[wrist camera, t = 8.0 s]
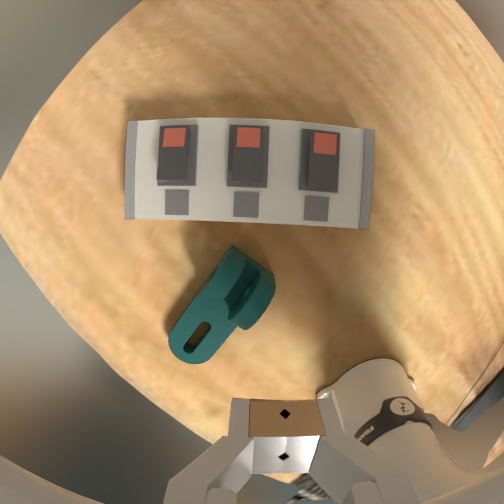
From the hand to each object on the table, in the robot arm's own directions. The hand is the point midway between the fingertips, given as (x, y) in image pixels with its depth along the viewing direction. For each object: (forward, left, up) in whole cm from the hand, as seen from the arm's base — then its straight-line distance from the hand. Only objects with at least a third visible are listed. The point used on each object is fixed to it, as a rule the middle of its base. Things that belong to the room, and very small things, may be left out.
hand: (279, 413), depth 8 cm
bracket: (-11, +6, -32) cm, 34 cm away
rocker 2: (+9, +2, -25) cm, 27 cm away
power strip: (+8, +2, -31) cm, 32 cm away
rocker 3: (+9, -6, -25) cm, 27 cm away
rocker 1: (+9, +10, -25) cm, 29 cm away
